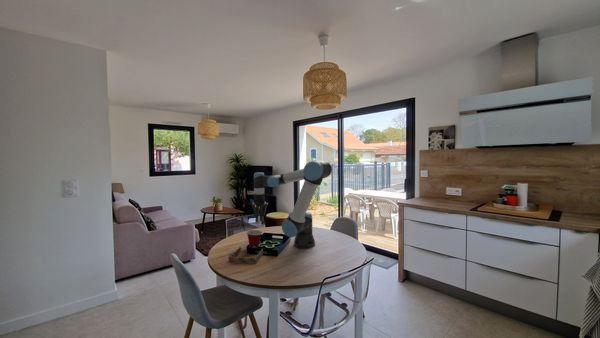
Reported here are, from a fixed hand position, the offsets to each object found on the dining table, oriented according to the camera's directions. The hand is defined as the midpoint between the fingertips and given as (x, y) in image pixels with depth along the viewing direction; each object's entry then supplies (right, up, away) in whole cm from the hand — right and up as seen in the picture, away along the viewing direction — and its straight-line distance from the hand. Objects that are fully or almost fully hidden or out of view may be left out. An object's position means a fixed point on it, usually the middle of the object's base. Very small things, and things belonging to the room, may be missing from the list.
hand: (259, 225), depth 181 cm
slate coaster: (-14, -14, -19) cm, 28 cm away
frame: (-4, -14, -25) cm, 29 cm away
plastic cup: (-1, -14, -11) cm, 18 cm away
